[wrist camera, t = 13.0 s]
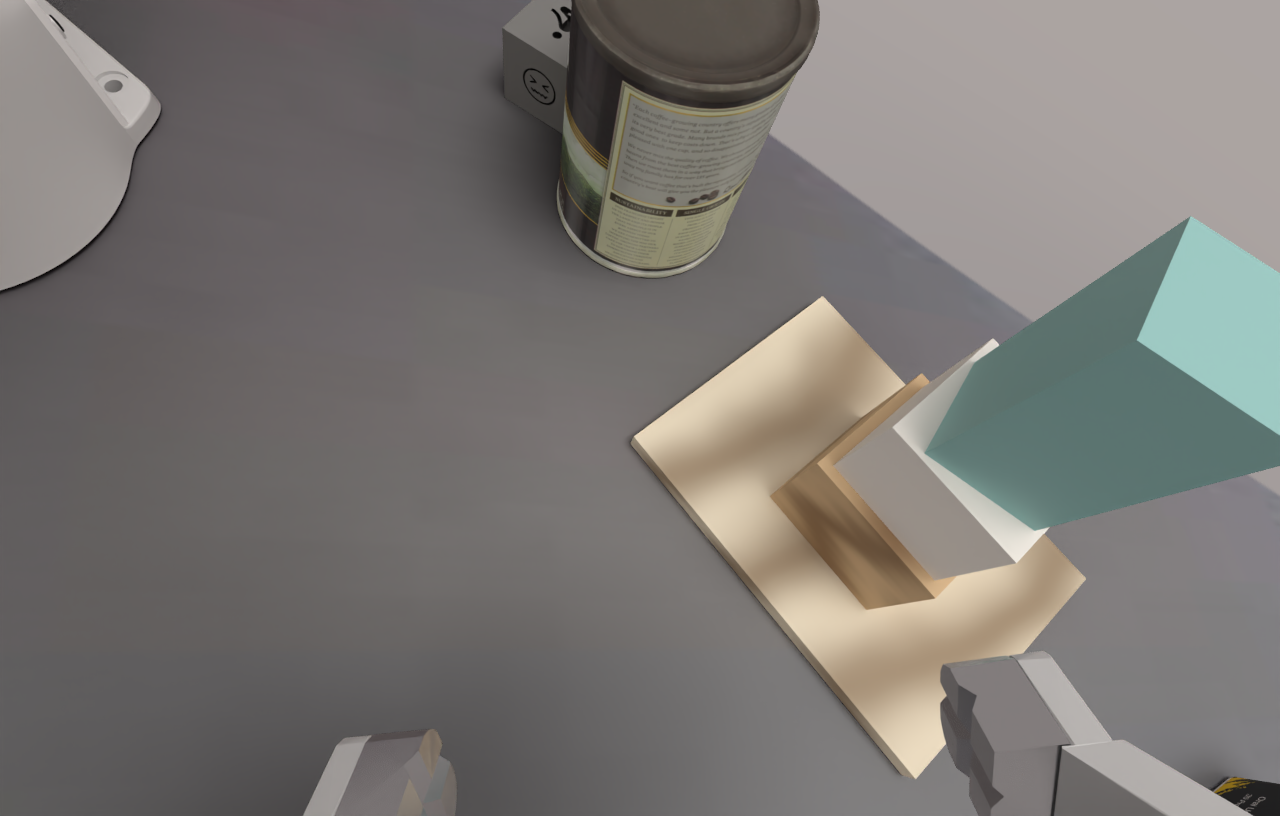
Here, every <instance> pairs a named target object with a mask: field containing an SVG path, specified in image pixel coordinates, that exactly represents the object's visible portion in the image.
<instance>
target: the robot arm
mask: <svg viewBox="0 0 1280 816" xmlns="http://www.w3.org/2000/svg"><path fill="white" fill-rule="evenodd" d="M117 91H118V92H117ZM160 111H161V105H160V102H159V101H158V99H157V98H156V97H155V96H154V94H153V93H152V92H151V91H150V90H149V88H148V87H147V86H146V85H145V84H144V83H142V82H141V81H140V80H139V79H138V78H137V77H135V76H134V75H133V74H132V73H131V72H129V71H128V70H127V69H126V68H125V67H124V66H122V65H121V64H120V63H119V62H118V61H117V60H115V59H114V58H113V57H112V56H111V55H109V54H108V53H107V52H106V51H105V50H104V49H102V48H101V47H100V46H99V45H98V44H96V43H95V42H94V41H93V40H92V39H91V38H89V37H88V36H87V35H86V34H85V33H84V32H82V31H81V30H80V29H79V28H78V27H76V26H75V25H74V24H73V23H72V22H71V21H69V20H68V19H67V18H66V17H65V16H64V15H62V14H61V13H60V12H59V11H58V10H56V9H55V8H54V7H53V6H52V5H51V4H49V3H48V2H47V1H46V0H0V290H3V289H6V288H10V287H13V286H15V285H18V284H21V283H23V282H26V281H28V280H31V279H33V278H35V277H37V276H39V275H41V274H43V273H45V272H47V271H49V270H51V269H53V268H54V267H56V266H58V265H60V264H61V263H63V262H64V261H66V260H67V259H69V258H70V257H72V256H73V255H74V254H76V253H77V252H78V251H80V250H81V249H82V248H83V247H84V246H86V245H87V244H88V243H89V242H90V241H91V240H92V239H93V238H94V237H95V236H96V235H97V234H98V233H99V232H100V231H101V230H102V229H103V228H104V226H105V225H106V224H107V223H108V221H109V220H110V219H111V217H112V216H113V214H114V213H115V211H116V209H117V208H118V206H119V204H120V202H121V200H122V198H123V196H124V193H125V190H126V188H127V184H128V181H129V176H130V170H131V165H132V159H133V155H134V152H135V150H136V147H137V145H138V144H139V143H140V142H141V140H142V139H143V138H144V137H145V135H146V134H147V133H148V132H149V130H150V129H151V128H152V126H153V125H154V123H155V122H156V120H157V118H158V117H159V114H160ZM940 683H941V685H942V687H943V689H944V691H945V693H946V695H947V696H946V697H945V698H944V699H943V700H942V702H941V703H940V719H941V724H942V729H943V734H944V738H945V741H946V744H947V747H948V750H949V753H950V755H951V757H952V759H953V762H954V764H955V766H956V768H957V769H958V770H960V771H961V772H962V773H964V774H965V775H967V776H968V777H969V778H970V781H969V796H970V799H971V801H972V803H973V805H974V807H975V809H976V811H977V813H978V816H1253V815H1251V814H1250V813H1248V812H1246V811H1244V810H1243V809H1241V808H1239V807H1238V806H1236V805H1234V804H1232V803H1231V802H1229V801H1227V800H1226V799H1224V798H1222V797H1221V796H1219V795H1217V794H1215V793H1214V792H1212V791H1210V790H1209V789H1207V788H1205V787H1204V786H1202V785H1200V784H1198V783H1197V782H1195V781H1193V780H1192V779H1190V778H1188V777H1186V776H1185V775H1183V774H1181V773H1180V772H1178V771H1176V770H1175V769H1173V768H1171V767H1169V766H1168V765H1166V764H1164V763H1163V762H1161V761H1159V760H1157V759H1156V758H1154V757H1152V756H1151V755H1149V754H1147V753H1146V752H1144V751H1142V750H1140V749H1139V748H1137V747H1135V746H1134V745H1132V744H1130V743H1128V742H1127V741H1125V740H1112V739H1111V737H1110V736H1109V735H1108V733H1107V732H1106V731H1105V729H1104V728H1103V727H1102V725H1101V724H1100V722H1099V721H1098V720H1097V718H1096V717H1095V716H1094V714H1093V713H1092V711H1091V710H1090V709H1089V707H1088V706H1087V705H1086V703H1085V702H1084V701H1083V699H1082V698H1081V696H1080V695H1079V694H1078V692H1077V691H1076V690H1075V688H1074V687H1073V685H1072V684H1071V683H1070V681H1069V680H1068V679H1067V677H1066V676H1065V675H1064V673H1063V672H1062V670H1061V669H1060V668H1059V666H1058V665H1057V664H1056V662H1055V661H1054V660H1053V658H1052V657H1051V655H1049V654H1048V653H1046V652H1045V651H1038V652H1031V653H1023V654H1015V655H1010V656H1006V655H1005V656H998V657H990V658H983V659H976V660H969V661H961V662H954V663H947V664H943V665H942V668H941V670H940ZM442 744H443V743H442V741H441V739H440V737H439V735H438V733H437V731H436V730H435V729H425V730H415V731H405V732H394V733H384V734H374V735H368V736H358V737H348V738H344V739H343V740H342V741H341V742H340V743H339V744H338V745H337V746H336V747H335V749H334V751H333V753H332V755H331V757H330V759H329V761H328V764H327V766H326V768H325V770H324V772H323V774H322V776H321V778H320V780H319V783H318V785H317V787H316V789H315V791H314V793H313V795H312V797H311V799H310V802H309V804H308V806H307V808H306V810H305V812H304V814H303V816H454V815H455V810H456V803H457V783H456V777H455V772H454V770H453V767H452V765H451V762H449V761H448V760H446V759H445V758H443V757H442V756H440V755H439V754H440V751H441V747H442Z"/></svg>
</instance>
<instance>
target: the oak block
mask: <svg viewBox="0 0 1280 816" xmlns="http://www.w3.org/2000/svg"><path fill="white" fill-rule="evenodd" d="M928 383H930V382H929V381H928V380H927V379H926V377H925V376H924V375H923V374H922V373H921V374H920V375H919V376H917V377H916V378H915V379H913V380H912V381H910V382H909V383H908V384H906V385H905V386H904V387H902V388H901V389H900V390H898V391H897V392H896V393H894V394H893V395H891V396H890V397H889V398H887V399H886V400H885V401H883V402H882V403H881V404H879V405H878V406H877V407H875V408H874V409H872V410H871V411H870V412H868V413H867V414H866V415H864V416H863V417H862V418H860V419H859V420H858V421H857V422H856V423H855V424H853V425H852V426H851V427H850V428H849V429H848V430H846V431H845V432H844V433H843V434H842V435H841V436H839V437H838V438H837V439H836V440H835V441H834V442H832V443H831V444H830V445H829V446H828V447H827V448H825V449H824V450H823V451H822V452H821V453H820V454H818V455H817V456H816V457H815V458H814V459H813V460H811V461H810V462H809V463H808V464H807V465H806V466H804V467H803V468H802V469H801V470H800V471H799V472H797V473H796V474H795V475H794V476H793V477H792V478H790V479H789V480H788V481H787V482H786V483H785V484H783V485H782V486H781V487H780V488H779V489H778V490H776V491H775V492H774V493H773V494H772V495H771V496H770V497H771V499H772V500H773V501H774V502H775V503H776V505H777V506H778V507H779V508H780V509H781V510H782V512H783V513H784V514H785V515H786V516H787V517H788V519H789V520H790V521H791V522H792V523H793V524H794V526H795V527H796V528H797V529H798V530H799V532H800V533H801V534H802V535H803V536H804V537H805V539H806V540H807V541H808V542H809V543H810V544H811V546H812V547H813V548H814V549H815V550H816V552H817V553H818V554H819V555H820V556H821V557H822V559H823V560H824V561H825V562H826V563H827V564H828V566H829V567H830V568H831V569H832V570H833V571H834V573H835V574H836V575H837V576H838V577H839V579H840V580H841V581H842V582H843V583H844V584H845V586H846V587H847V588H848V589H849V590H850V591H851V593H852V594H853V595H854V596H855V597H856V598H857V600H858V601H859V602H860V603H861V604H862V606H863V607H864V608H865V609H866V610H870V609H876V608H882V607H888V606H894V605H900V604H906V603H912V602H918V601H924V600H930V599H936V598H937V596H938V595H939V594H940V593H941V592H942V591H943V590H944V589H945V588H946V587H947V586H948V585H949V584H950V583H951V582H952V581H953V580H954V579H955V578H956V577H957V576H954V577H949V578H944V579H939V580H935V581H934V580H933V578H932V577H931V576H930V575H929V574H928V573H927V572H926V570H925V569H924V568H923V567H922V566H921V565H920V564H919V563H918V561H917V560H916V559H915V558H914V557H913V556H912V555H911V553H910V552H909V551H908V550H907V549H906V548H905V547H904V546H903V544H902V543H901V542H900V541H899V540H898V539H897V538H896V536H895V535H894V534H893V533H892V532H891V531H890V530H889V528H888V527H887V526H886V525H885V524H884V523H883V522H882V521H881V519H880V518H879V517H878V516H877V515H876V514H875V513H874V511H873V510H872V509H871V508H870V507H869V506H868V505H867V504H866V502H865V501H864V500H863V499H862V498H861V497H860V496H859V494H858V493H857V492H856V491H855V490H854V489H853V488H852V487H851V485H850V484H849V483H848V482H847V481H846V480H845V479H844V477H843V476H842V475H841V474H840V473H839V472H838V471H837V469H836V468H835V467H834V466H833V465H835V464H836V463H837V462H838V461H839V460H840V459H841V458H843V457H844V456H845V455H846V454H847V453H848V452H849V451H851V450H852V449H853V448H854V447H855V446H856V445H857V444H859V443H860V442H861V441H862V440H863V439H864V438H865V437H867V436H868V435H869V434H870V433H871V432H872V431H873V430H875V429H876V428H877V427H878V426H879V425H880V424H881V423H883V422H884V421H885V420H886V419H887V418H888V417H889V416H891V415H892V414H893V413H894V412H895V411H896V410H897V409H899V408H900V407H901V406H902V405H903V404H904V403H905V402H907V401H908V400H909V399H910V398H911V397H912V396H913V395H915V394H916V393H917V392H918V391H919V390H920V389H921V388H923V387H924V386H926V385H927V384H928Z"/></svg>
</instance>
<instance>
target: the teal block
mask: <svg viewBox="0 0 1280 816" xmlns="http://www.w3.org/2000/svg"><path fill="white" fill-rule="evenodd" d="M924 454H926V455H927V456H929V457H930V458H931V459H933V460H934V461H936V462H937V463H939V464H940V465H941V466H943V467H944V468H946V469H947V470H949V471H950V472H951V473H953V474H954V475H956V476H957V477H959V478H960V479H961V480H963V481H964V482H966V483H967V484H968V485H970V486H971V487H973V488H974V489H976V490H977V491H978V492H980V493H981V494H983V495H984V496H986V497H987V498H988V499H990V500H991V501H993V502H994V503H995V504H997V505H998V506H1000V507H1001V508H1003V509H1004V510H1005V511H1007V512H1008V513H1010V514H1011V515H1013V516H1014V517H1015V518H1017V519H1018V520H1020V521H1021V522H1023V523H1024V524H1025V525H1027V526H1028V527H1030V528H1031V529H1032V530H1034V531H1036V530H1040V529H1044V528H1048V527H1051V526H1055V525H1059V524H1063V523H1066V522H1070V521H1074V520H1078V519H1081V518H1085V517H1089V516H1093V515H1097V514H1100V513H1104V512H1108V511H1112V510H1115V509H1119V508H1123V507H1127V506H1130V505H1134V504H1138V503H1142V502H1145V501H1149V500H1153V499H1157V498H1160V497H1164V496H1168V495H1172V494H1176V493H1179V492H1183V491H1187V490H1191V489H1194V488H1198V487H1202V486H1206V485H1209V484H1213V483H1217V482H1221V481H1224V480H1228V479H1232V478H1236V477H1239V476H1243V475H1247V474H1251V473H1255V472H1258V471H1262V470H1266V469H1269V468H1273V467H1277V466H1280V273H1278V272H1277V271H1275V270H1274V269H1272V268H1271V267H1269V266H1267V265H1266V264H1264V263H1263V262H1261V261H1260V260H1258V259H1257V258H1255V257H1254V256H1252V255H1250V254H1249V253H1247V252H1246V251H1244V250H1243V249H1241V248H1239V247H1238V246H1236V245H1235V244H1233V243H1232V242H1230V241H1229V240H1227V239H1225V238H1224V237H1222V236H1221V235H1219V234H1218V233H1216V232H1215V231H1213V230H1211V229H1210V228H1208V227H1207V226H1205V225H1204V224H1202V223H1201V222H1199V221H1198V220H1196V219H1194V218H1193V217H1191V216H1190V217H1189V218H1187V219H1186V220H1185V221H1183V222H1181V223H1180V224H1179V225H1177V226H1176V227H1174V228H1173V229H1171V230H1170V231H1168V232H1167V233H1165V234H1164V235H1163V236H1161V237H1159V238H1158V239H1156V240H1155V241H1154V242H1152V243H1150V244H1149V245H1148V246H1146V247H1144V248H1143V249H1141V250H1140V251H1139V252H1137V253H1136V254H1134V255H1133V256H1131V257H1130V258H1128V259H1127V260H1125V261H1124V262H1122V263H1121V264H1119V265H1118V266H1117V267H1115V268H1113V269H1112V270H1111V271H1109V272H1108V273H1106V274H1105V275H1103V276H1102V277H1100V278H1099V279H1097V280H1096V281H1094V282H1093V283H1091V284H1090V285H1088V286H1087V287H1085V288H1084V289H1082V290H1081V291H1079V292H1078V293H1076V294H1075V295H1073V296H1072V297H1070V298H1069V299H1068V300H1066V301H1064V302H1063V303H1062V304H1060V305H1059V306H1057V307H1056V308H1054V309H1053V310H1051V311H1050V312H1048V313H1047V314H1045V315H1044V316H1042V317H1041V318H1039V319H1038V320H1036V321H1035V322H1033V323H1032V324H1030V325H1029V326H1027V327H1026V328H1025V329H1023V330H1022V331H1020V332H1019V333H1017V334H1016V335H1014V336H1013V337H1011V338H1010V339H1008V340H1007V341H1005V342H1004V343H1002V344H1001V345H999V346H998V347H996V348H995V349H993V350H992V351H990V352H989V353H988V354H986V355H985V356H983V357H982V358H980V359H979V360H977V361H976V362H974V364H973V366H972V368H971V370H970V372H969V373H968V375H967V377H966V379H965V381H964V382H963V384H962V386H961V388H960V390H959V391H958V393H957V395H956V397H955V399H954V401H953V402H952V404H951V406H950V408H949V410H948V411H947V413H946V415H945V417H944V419H943V420H942V422H941V424H940V426H939V428H938V430H937V431H936V433H935V435H934V437H933V439H932V440H931V442H930V444H929V446H928V448H927V450H926V451H925V453H924Z"/></svg>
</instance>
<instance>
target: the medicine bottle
mask: <svg viewBox="0 0 1280 816" xmlns="http://www.w3.org/2000/svg"><path fill="white" fill-rule="evenodd" d="M1213 792H1214V793H1215V794H1217V795H1219V796H1221V797H1222V798H1224V799H1226V800H1227V801H1229V802H1231V803H1232V804H1234V805H1236V806H1238V807H1239V808H1241V809H1243V810H1244V811H1246V812H1248V813H1250V814H1251V815H1253V816H1280V784H1276V783H1270V782H1263V781H1257V780H1250V779H1244V778H1237V777H1232V778H1228V779H1227V780H1226V781H1225V782H1223V783H1222V784H1221V785H1220V786H1219V787H1217V788H1216V789H1215V790H1214V791H1213Z"/></svg>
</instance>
